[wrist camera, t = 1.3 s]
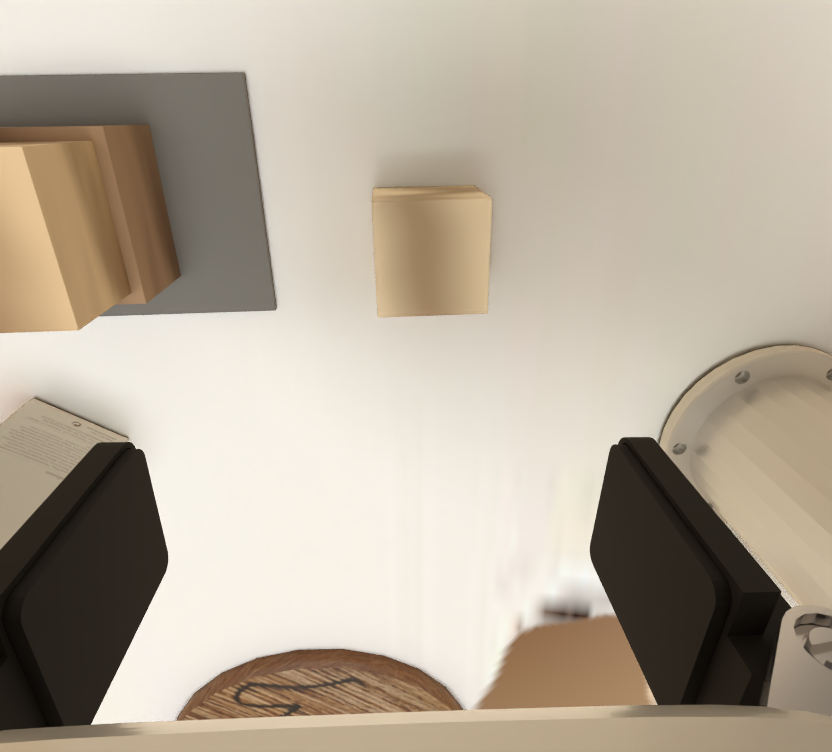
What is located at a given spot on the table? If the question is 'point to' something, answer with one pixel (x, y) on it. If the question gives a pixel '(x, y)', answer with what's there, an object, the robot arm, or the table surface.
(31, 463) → the small box
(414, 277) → the maple cube
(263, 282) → the slate mat
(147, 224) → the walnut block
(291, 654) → the trivet
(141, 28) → the table surface
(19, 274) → the oak block
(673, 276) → the table surface
